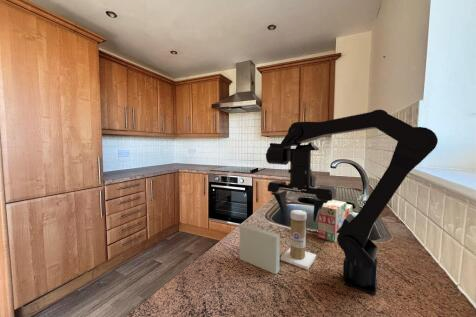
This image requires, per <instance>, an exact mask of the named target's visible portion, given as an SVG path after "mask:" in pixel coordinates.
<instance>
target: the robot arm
mask: <svg viewBox="0 0 476 317" xmlns="http://www.w3.org/2000/svg"><path fill="white" fill-rule="evenodd" d="M374 129H377V130H378V131H380V132H382V133H384V134H385V135H386V136H388V137H390V138H391V139H393V140H395V141H396V142H397V144H396V146H395V148H394V151H393V153H392V155H391V156H392V157H391V159H390V162H389V165H388V166H387V168H386V169H385V171H384V173H383V174H382V176H381V177H380V179H379V181H378V182H377V183H376V185H375V187H374V189H373V190H372V192H371V193H370V194H369V197H368V198H367V199H366V201H365V203H364V204H363V206H361V208H360V210H359V211H358V213H357V214H356V215H355V216H354V214H353V215H351V214H349V215H348V216H347V217H346V218H345V219H344V221H343V224H342V226H341V227H340V228H339V229H338V230H337V231H336V232H337V233H339V234H338V237H337V241H336V242H337V243H338V246H339V248H340V249H341V250H342V251H343V254H344V256H345V257H344V258H343V262H342V264H343V268H342V276H343V278H344V280H343V283H344V284H345V285H346V286H350V287H353V288H355V289H358V290H361V291H364V292H367V293H369V294H372V295H377V288H378V287H377V286H378V278H377V274H378V273H377V272H378V259H377V258H376V256H377V253H378V249H379V247H378V246H377V244H375V242H374V241H373V240H372V239H371V238H370V235H371V232H372V229H373V227H374V225H375V223H376V221H377V219H378V218H379V217H380V215H381V214H382V212H383V211H384V209H385V208H386V207H387V205H388V204H389V203H390V201H391V199H392V197H394V195H395V193H396V192H397V190H398V189H399V187H400V186H401V185H402V183H403V182H404V181H405V178H406V177H407V176H408V175H409V173H410V172H411V171H413V169H415V168H416V167H417V166H418V165H419V164H421V162H423V160H424V159H426V157H428V156H429V155H430V154H431V153H432V152H433V151H434V150H435V149H436V148H437V145H438V136H437V135H436V133H435V132H434V131H433V130H431V129H430V128H427V127H424V126H412V125H410V124H409V123H407V122H406V121H403V120H402V119H399V118H397V117H395V116H393V115H391V114H389V113H388V112H387V111H386V110H384V109H374V110H372V111H369V112H363V113H359V114H355V115H347V116H344V117H338V118H334V119H328V120H324V121H295V122H292V123H291V124H290V126H289V127H288V131H287V133H286V135H285V136H284V138H283V139H282V141H281V142H280V143H277V142H270V143H269V147H268V149H267V150H266V153H265V160H266V162H267V163H268V164H269V165H270V164H271V165H281V166H282V165H283V166H286V165H288V164H289V163H290V165H289V168H288V171H287V172H288V174H289V182H288V183H287V181H283V180H273V181H269V182H268V184H267V192H270V193H271V195H273V196H274V198H275V200H276V202H277V203H278V207H279V208H280V210H281V212H282V215H283V216H285V215H286V214H287V194H288V192H294V193H301V194H307V195H313V196H314V195H315V197H316V198H315V199H314V201H313V202H314V203H313V222H314V223H316V222H317V221H318V215H319V213H320V210H321V208H322V206H323V204H324V203H327V202H328V201H332V200H335V198H336V197H337V190H336V188H335V187H334V186H327V185H320V186H317V187H315V186H316V180H317V177H316V176H315V175H313V173H312V172H313V171H312V169H311V168H312V167H311V162H312V151H319V149H320V148H319V147H318V146H316V144H315V143H314V142H313V141H316V140H318V139H321V138H323V137H327V136H334V135H340V134H346V133H347V134H348V133H353V132H360V131H361V132H362V131H366V130H374ZM303 143H304V144H303ZM306 143H307V144H306ZM292 147H293V148H292ZM294 147H295V148H294Z"/></svg>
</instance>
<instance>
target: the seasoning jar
mask: <svg viewBox="0 0 476 317" xmlns="http://www.w3.org/2000/svg"><path fill="white" fill-rule="evenodd" d="M289 216H290V238H289V239H290V240H289V242H290V243H289V244H290V247H289V248H290V255H291V256H292V257H293V258H296V259H303V258H305V251H306V242H307V241H306V234H307V229H306V227H307V226H306V224H307V222H306V221H307V218H308V216H307V212H306V211H305V210H299V209H293V210H291V211H290V215H289Z"/></svg>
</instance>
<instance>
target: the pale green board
mask: <svg viewBox="0 0 476 317" xmlns="http://www.w3.org/2000/svg"><path fill="white" fill-rule="evenodd" d="M280 238H281V234H279V233H275V232H272V231H269V230H265V229H262V228H258V227H255V226H252V225H248V224H245V223H243V224H240V225H239V259H240V260H241V261H243V262H246V263H248V264H250V265H254V266H255V267H257V268H260V269H263V270H265V271H267V272H269V273H271V274H274V275H277V274H278V273H279V272H280V261H281V256H280V255H281V254H280V252H281V251H280V250H281V249H280V247H281V246H280V244H281V239H280Z"/></svg>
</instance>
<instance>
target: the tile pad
mask: <svg viewBox="0 0 476 317" xmlns="http://www.w3.org/2000/svg"><path fill="white" fill-rule="evenodd" d="M315 259H317V254H315V253H312V252H310V251H306V250H305V258H303V259H296V258H293V257H292V256H291V255H290V247H289V248H288V249H287V250H286V251H285V252H284V253H283V254H282V255H281V256H280V261H283V262H286V263H288V264H289V265H290V264H291V265H294V266H296V267H299V268H301V269H304V270H307V271H308V270H309V268H310V267H311V266H312V264H313V262H314V261H315Z"/></svg>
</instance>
